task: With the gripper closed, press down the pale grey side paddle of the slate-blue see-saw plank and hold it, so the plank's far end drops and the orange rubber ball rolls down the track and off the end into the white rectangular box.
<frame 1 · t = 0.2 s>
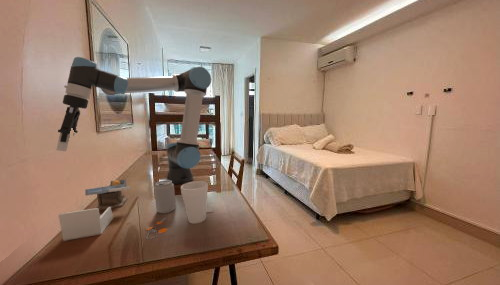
hand: (64, 149, 81), 27 cm above the table, tool tilted 15°, fingers open, 13 cm apart
fulcrum: (111, 204, 92), on the table
foam cup: (197, 219, 76), on the table
ball: (116, 183, 101), point 7 cm above the table, tilted 9°, touching lever
lever: (117, 185, 93), point 9 cm above the table, hinge at -15.0°, touching ball
can: (166, 210, 85), on the table
white rectangular box: (90, 228, 73), on the table
key chain: (156, 229, 71), on the table
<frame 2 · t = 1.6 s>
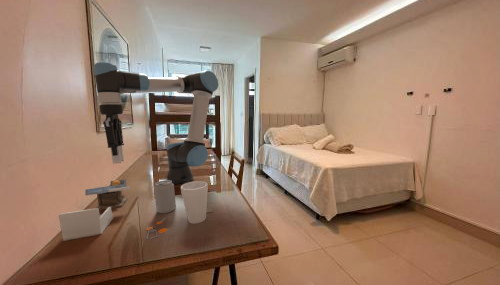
hand: (118, 162, 84), 21 cm above the table, tool pointing down, fingers open, 3 cm apart
nothing on the table moved.
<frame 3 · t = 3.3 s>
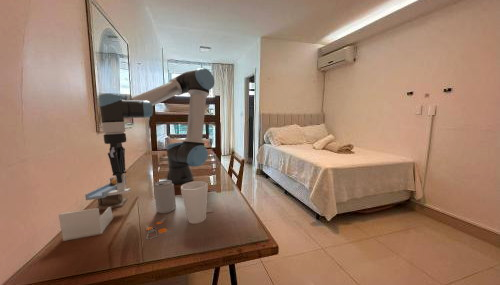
hand: (121, 189, 86), 9 cm above the table, tool pointing down, fingers closed
ball: (115, 181, 100), point 8 cm above the table, touching lever
lever: (117, 185, 92), point 9 cm above the table, hinge at -7.5°, touching ball, gripper
everything else where it was.
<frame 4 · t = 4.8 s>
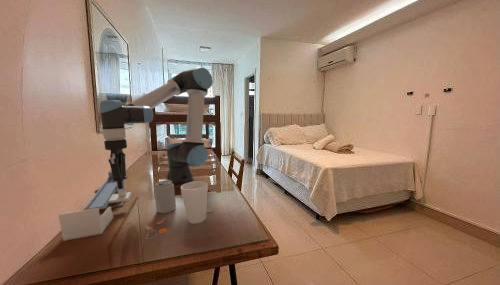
hand: (122, 195, 86), 6 cm above the table, tool pointing down, fingers closed
ball: (85, 227, 70), point 2 cm above the table, tilted 70°, touching white rectangular box
lever: (117, 185, 92), point 9 cm above the table, hinge at 9.9°, touching gripper
everything else where it was.
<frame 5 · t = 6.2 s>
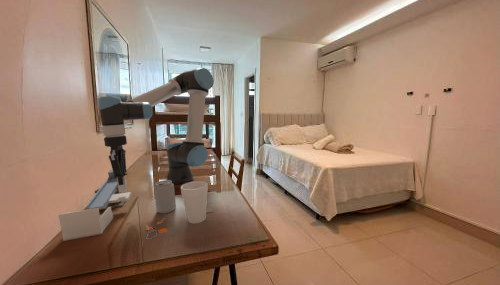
hand: (123, 191, 86), 8 cm above the table, tool pointing down, fingers closed
lever: (117, 185, 92), point 9 cm above the table, hinge at 9.9°
everything else where it was.
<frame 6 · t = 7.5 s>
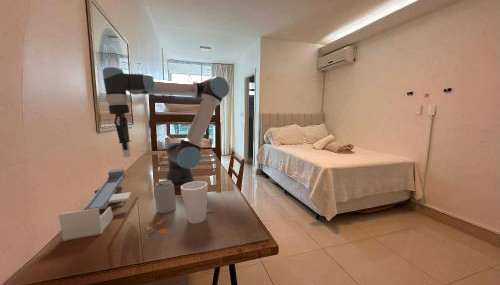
hand: (127, 156, 95), 21 cm above the table, tool pointing down, fingers closed
ball: (85, 226, 70), point 2 cm above the table, tilted 62°, touching white rectangular box
everything else where it was.
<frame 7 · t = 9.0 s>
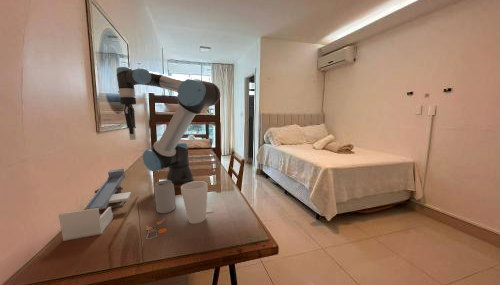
hand: (133, 139, 116), 26 cm above the table, tool pointing down, fingers closed
ball: (85, 226, 70), point 2 cm above the table, tilted 56°, touching white rectangular box
everything else where it was.
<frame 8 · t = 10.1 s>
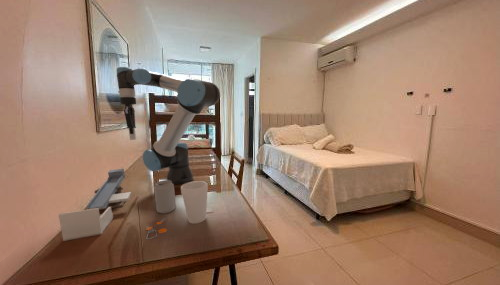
hand: (133, 139, 116), 26 cm above the table, tool pointing down, fingers closed
nothing on the table moved.
at the end: ball 2.6 cm from the white rectangular box (horizontally); ball point 2.2 cm above the table; ball touching white rectangular box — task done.
